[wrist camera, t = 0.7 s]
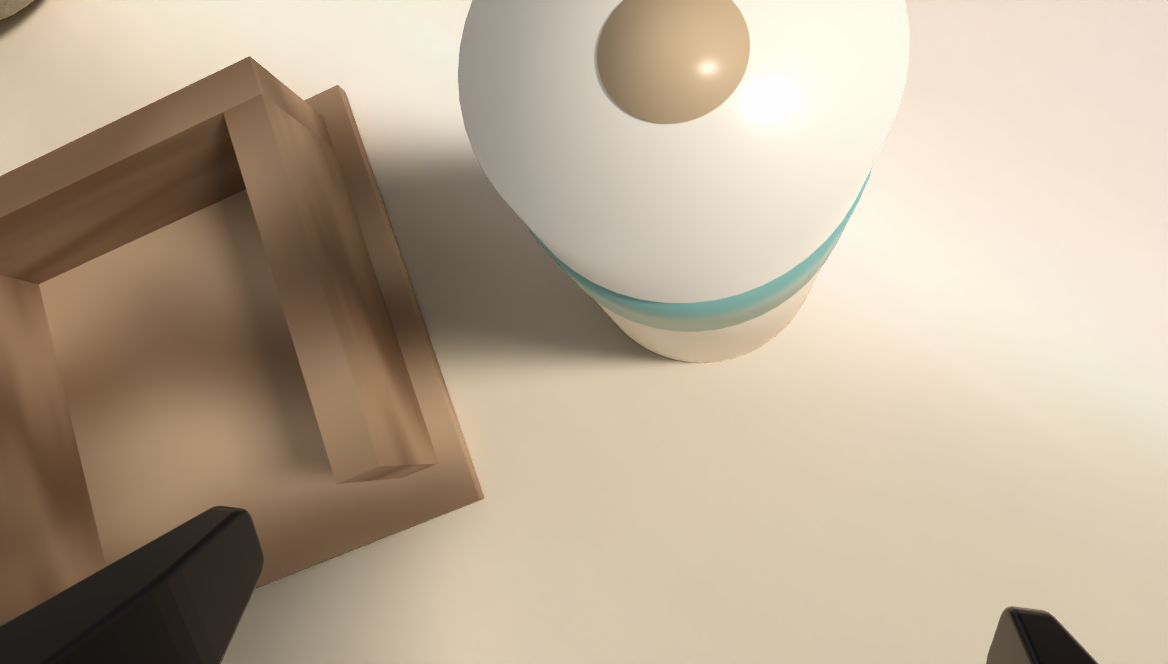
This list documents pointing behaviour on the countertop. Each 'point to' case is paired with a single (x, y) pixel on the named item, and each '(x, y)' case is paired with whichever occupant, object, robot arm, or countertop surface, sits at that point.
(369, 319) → the holder
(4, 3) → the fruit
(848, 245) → the countertop surface
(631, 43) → the white bottle
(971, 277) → the countertop surface
